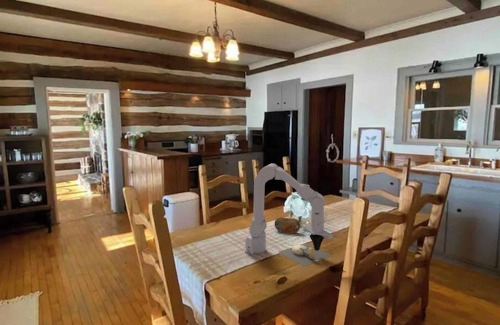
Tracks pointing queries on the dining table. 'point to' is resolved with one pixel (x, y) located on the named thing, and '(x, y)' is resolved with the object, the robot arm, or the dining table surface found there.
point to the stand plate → (304, 259)
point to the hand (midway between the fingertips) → (317, 249)
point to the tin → (287, 225)
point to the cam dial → (303, 251)
